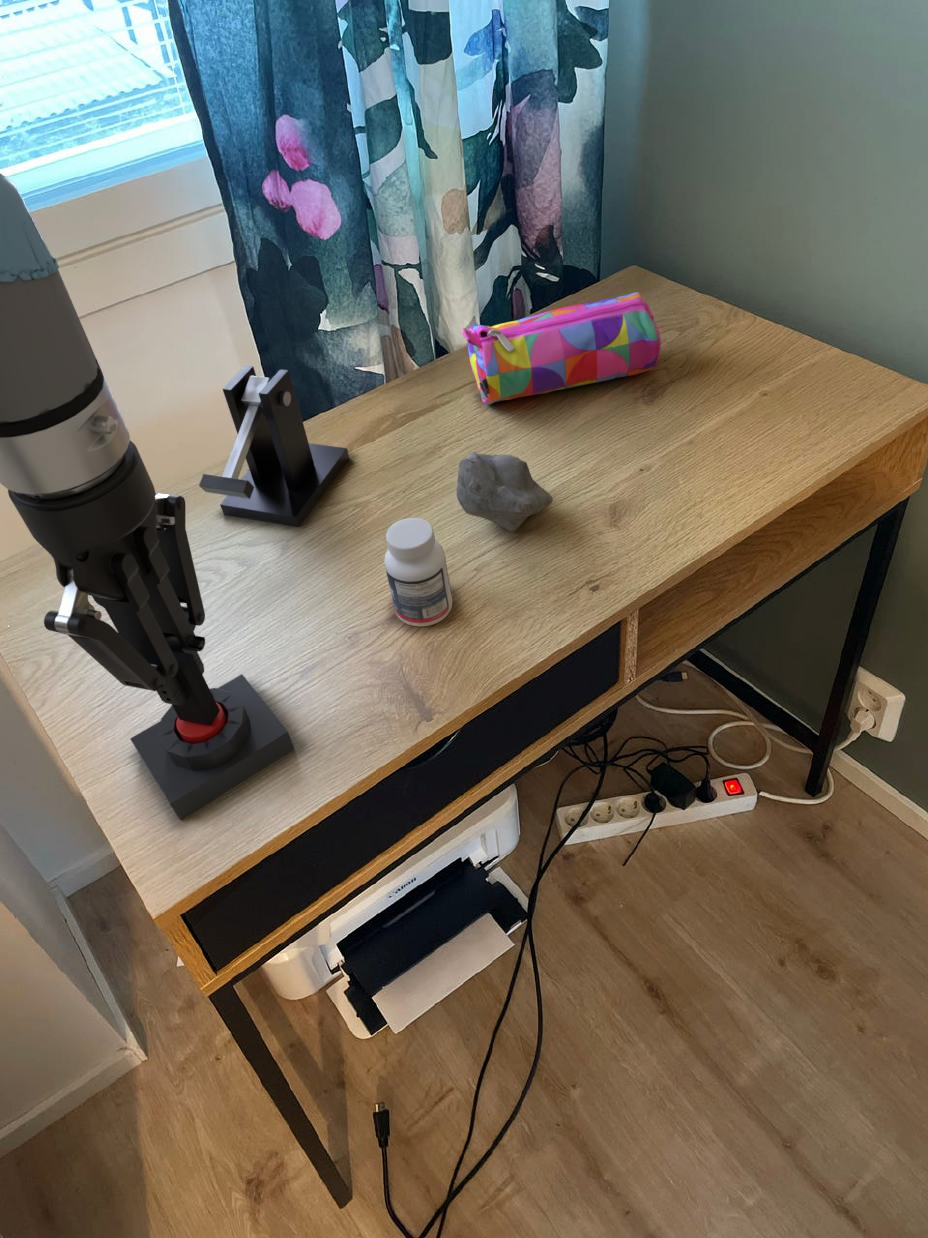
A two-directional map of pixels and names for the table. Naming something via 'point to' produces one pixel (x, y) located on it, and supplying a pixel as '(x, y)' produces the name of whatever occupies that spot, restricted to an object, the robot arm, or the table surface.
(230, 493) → the lever
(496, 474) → the fossil
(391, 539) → the pill bottle
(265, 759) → the button box
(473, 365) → the pencil case
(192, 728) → the button
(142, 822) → the table surface
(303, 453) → the black lever stand
